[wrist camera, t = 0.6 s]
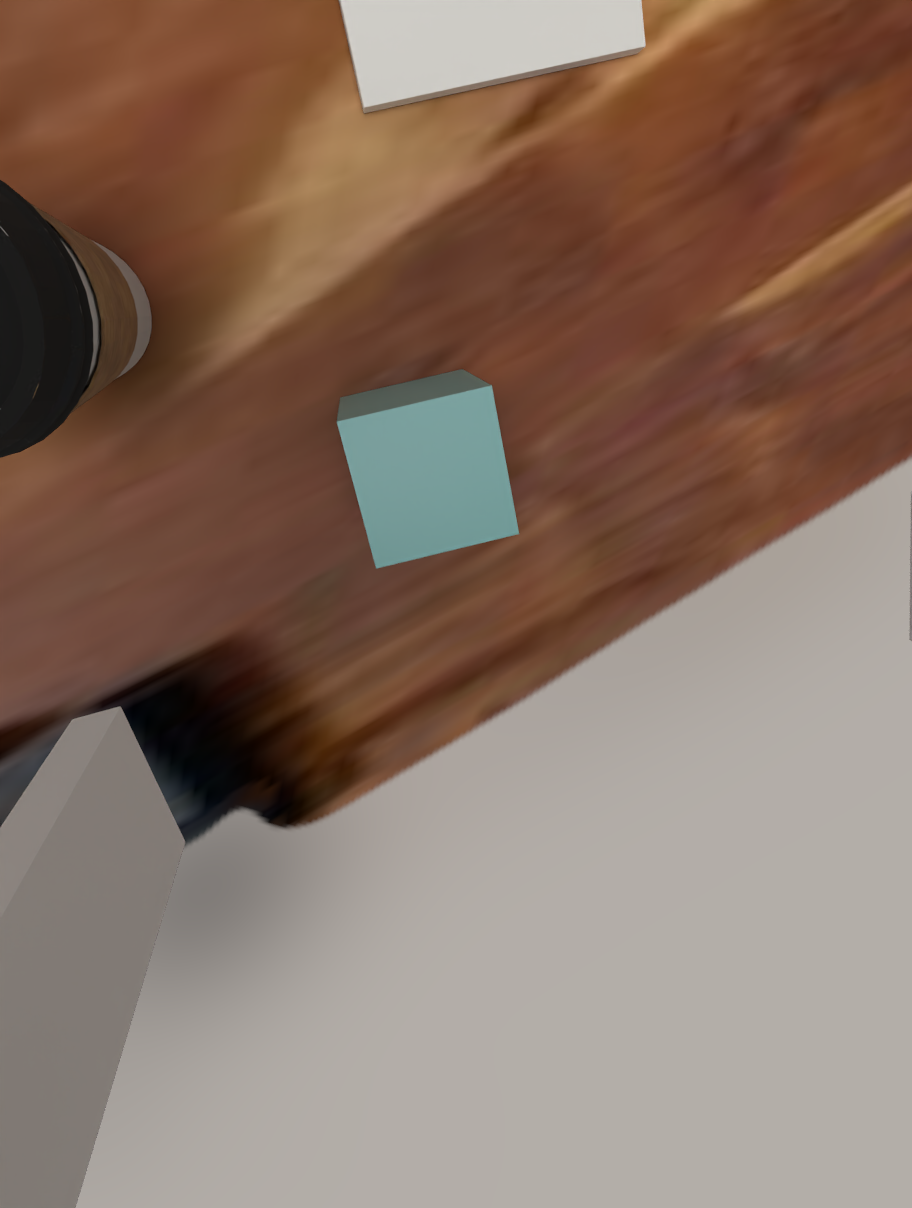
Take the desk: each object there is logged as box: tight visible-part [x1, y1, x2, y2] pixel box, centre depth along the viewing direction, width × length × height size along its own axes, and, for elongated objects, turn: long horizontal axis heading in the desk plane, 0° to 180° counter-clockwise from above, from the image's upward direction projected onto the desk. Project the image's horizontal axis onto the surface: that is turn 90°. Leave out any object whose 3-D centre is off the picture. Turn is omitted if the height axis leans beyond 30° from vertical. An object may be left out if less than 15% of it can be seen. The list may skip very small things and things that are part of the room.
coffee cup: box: [0, 180, 152, 457], centre depth 26 cm, size 8×8×15 cm
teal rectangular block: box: [337, 369, 519, 569], centre depth 33 cm, size 6×6×8 cm
